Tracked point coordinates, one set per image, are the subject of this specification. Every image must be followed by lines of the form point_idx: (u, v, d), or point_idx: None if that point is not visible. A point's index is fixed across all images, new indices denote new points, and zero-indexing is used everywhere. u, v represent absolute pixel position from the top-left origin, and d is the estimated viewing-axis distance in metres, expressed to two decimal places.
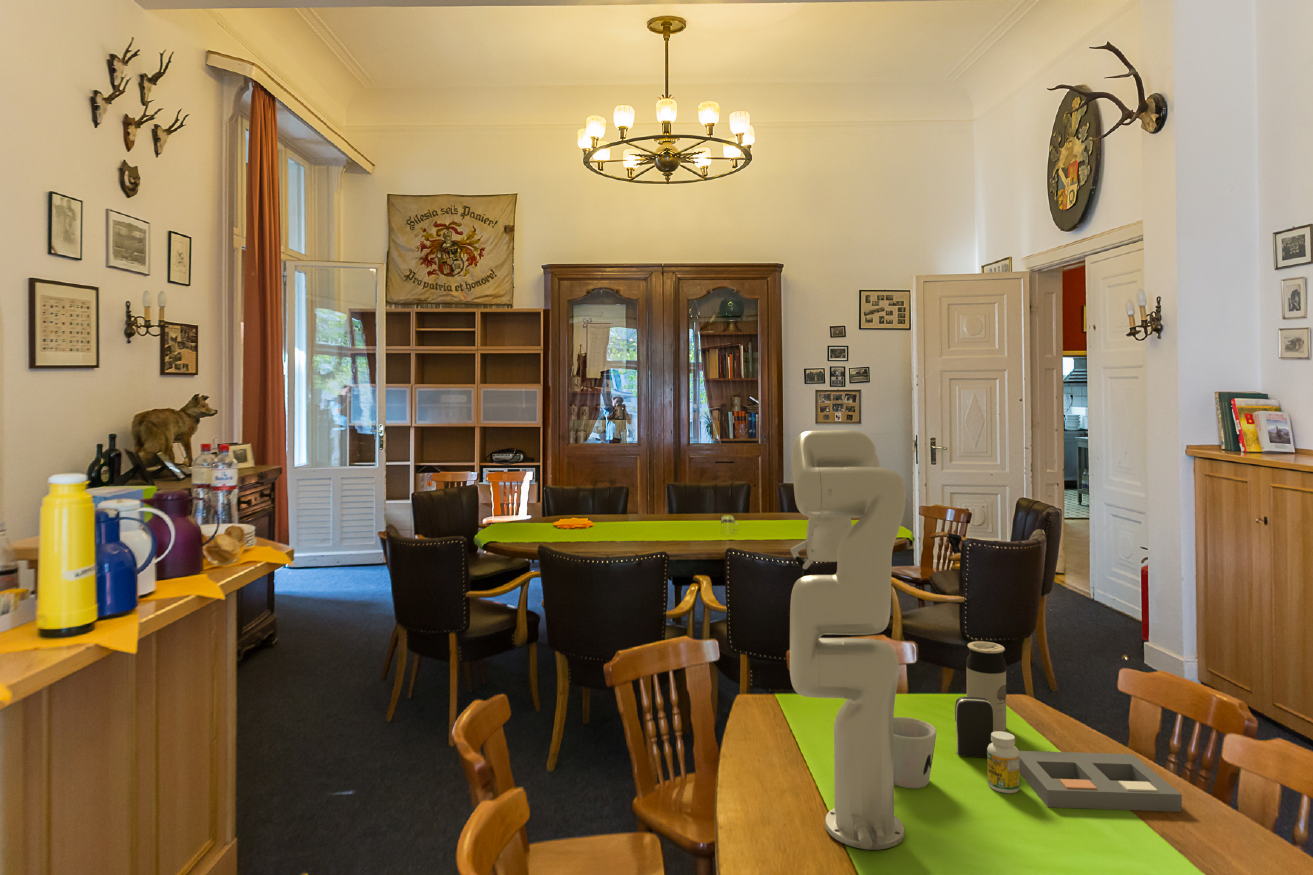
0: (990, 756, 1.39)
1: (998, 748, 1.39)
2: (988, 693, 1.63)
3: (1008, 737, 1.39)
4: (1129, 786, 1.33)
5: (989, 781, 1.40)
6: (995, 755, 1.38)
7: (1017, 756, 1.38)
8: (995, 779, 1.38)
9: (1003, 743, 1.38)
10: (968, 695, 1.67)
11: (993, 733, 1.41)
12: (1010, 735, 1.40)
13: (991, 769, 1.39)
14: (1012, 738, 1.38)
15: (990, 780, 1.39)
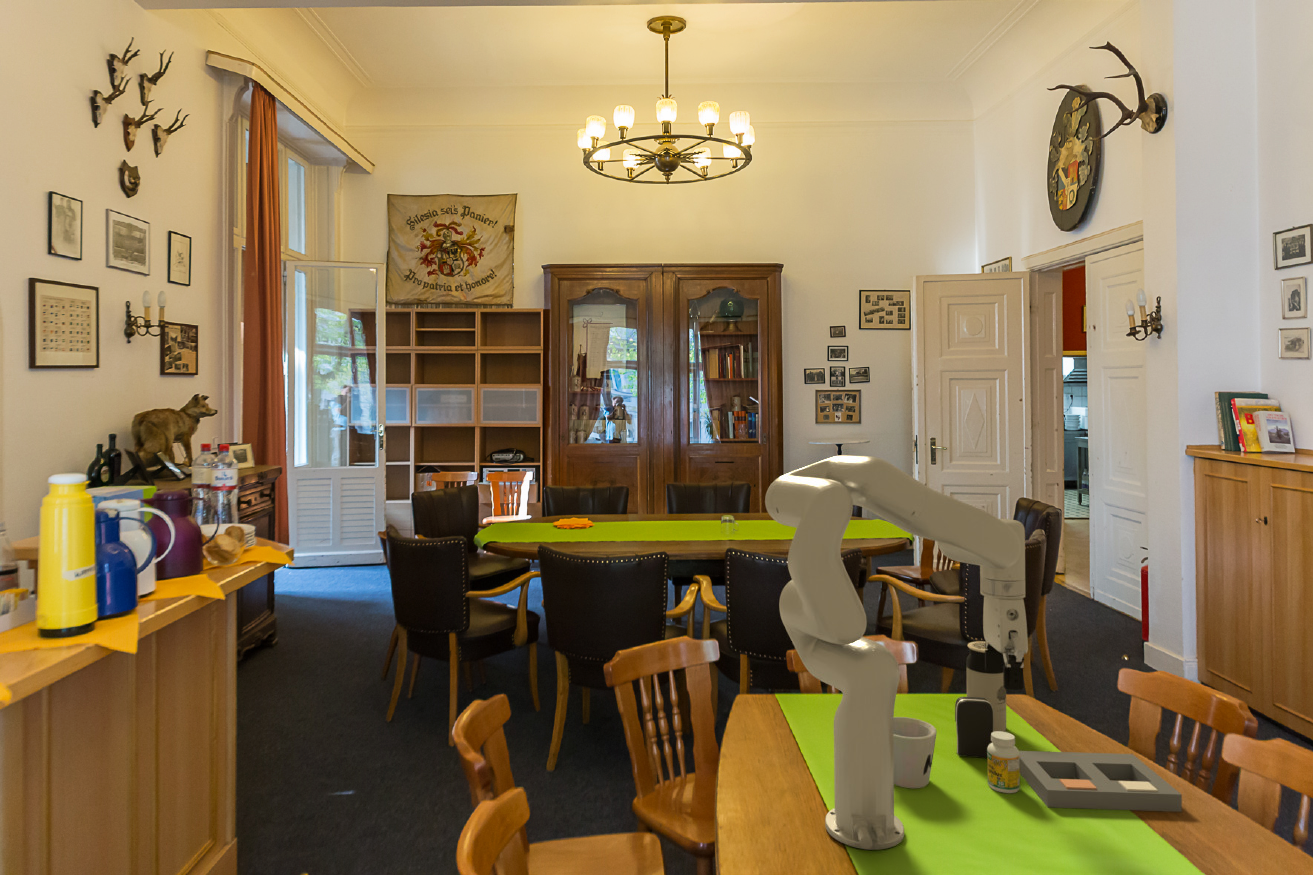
0: (990, 756, 1.39)
1: (998, 748, 1.39)
2: (988, 693, 1.63)
3: (1008, 737, 1.39)
4: (1129, 786, 1.33)
5: (989, 781, 1.40)
6: (995, 755, 1.38)
7: (1017, 756, 1.38)
8: (995, 779, 1.38)
9: (1003, 743, 1.38)
10: (968, 695, 1.67)
11: (993, 733, 1.41)
12: (1010, 735, 1.40)
13: (991, 769, 1.39)
14: (1012, 738, 1.38)
15: (990, 780, 1.39)
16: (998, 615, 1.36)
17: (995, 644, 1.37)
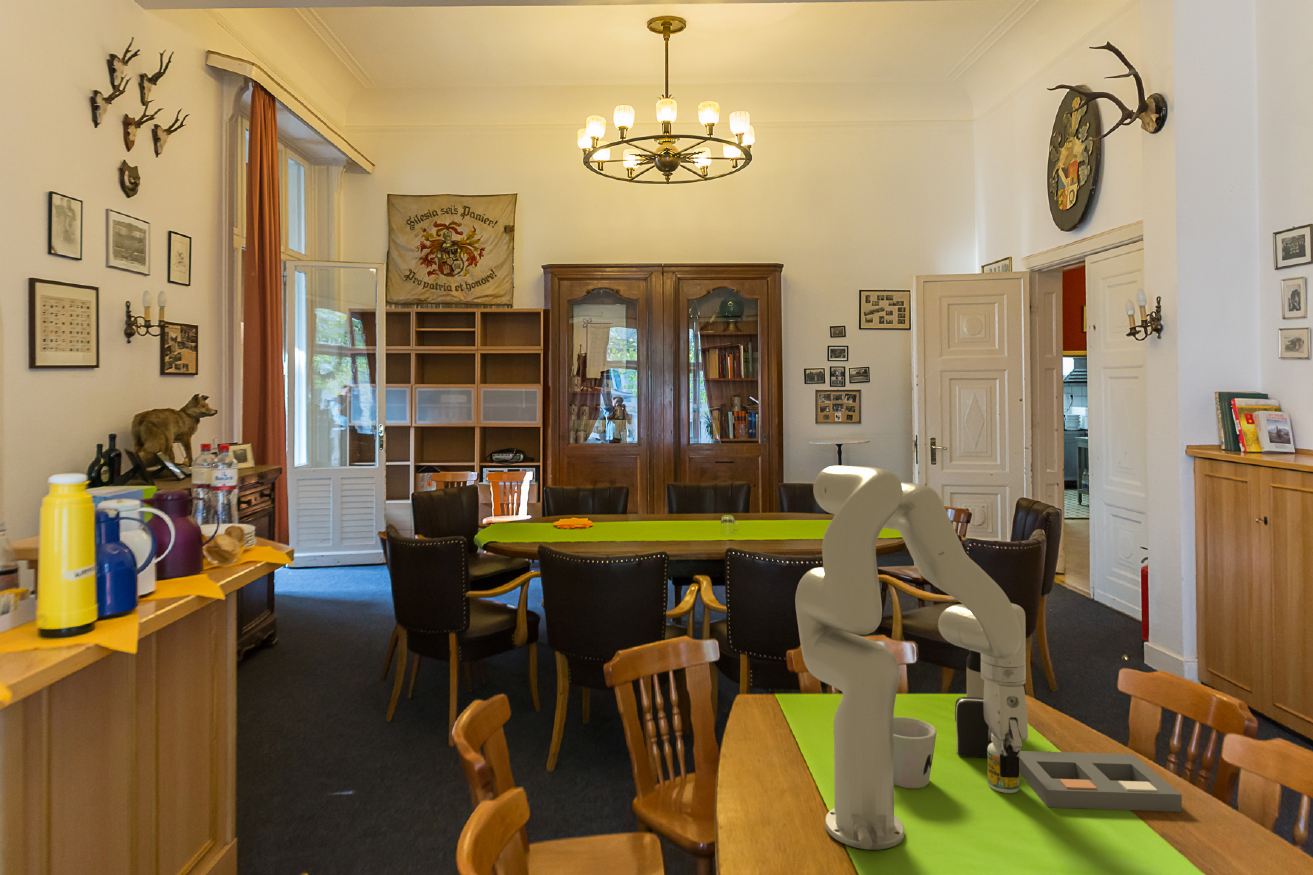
0: (990, 756, 1.39)
1: (998, 748, 1.39)
2: None
3: None
4: (1129, 786, 1.33)
5: (989, 781, 1.40)
6: (995, 755, 1.38)
7: None
8: (995, 779, 1.38)
9: None
10: (968, 695, 1.67)
11: (993, 733, 1.41)
12: None
13: (991, 769, 1.39)
14: None
15: (990, 780, 1.39)
16: (998, 702, 1.36)
17: (995, 730, 1.38)
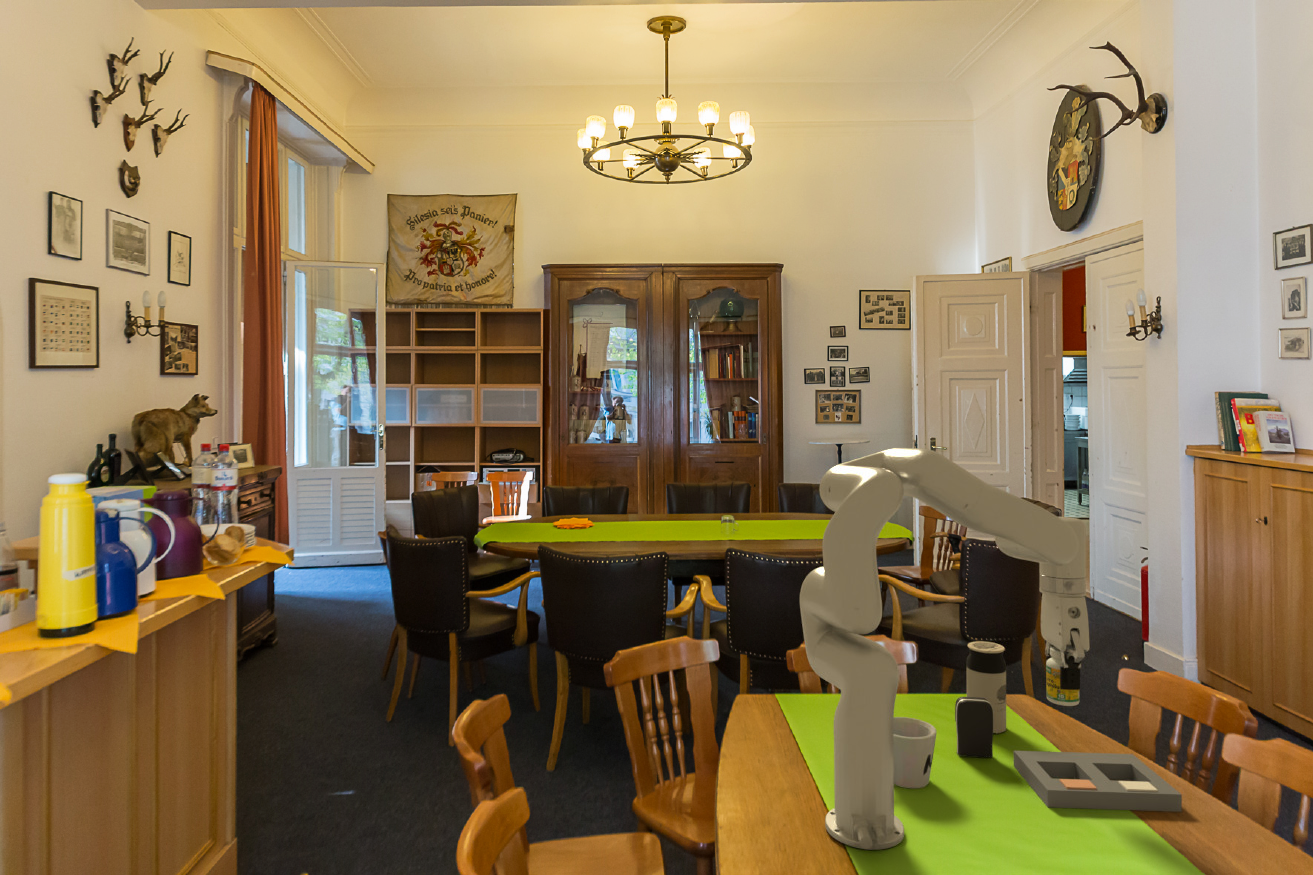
0: (1050, 670, 1.39)
1: (1058, 661, 1.38)
2: (988, 693, 1.63)
3: None
4: (1129, 786, 1.33)
5: (1048, 695, 1.39)
6: (1055, 668, 1.38)
7: None
8: (1055, 693, 1.38)
9: None
10: (968, 695, 1.67)
11: (1052, 647, 1.40)
12: (1070, 649, 1.39)
13: (1051, 682, 1.39)
14: None
15: (1049, 694, 1.39)
16: (1059, 613, 1.36)
17: (1055, 642, 1.37)
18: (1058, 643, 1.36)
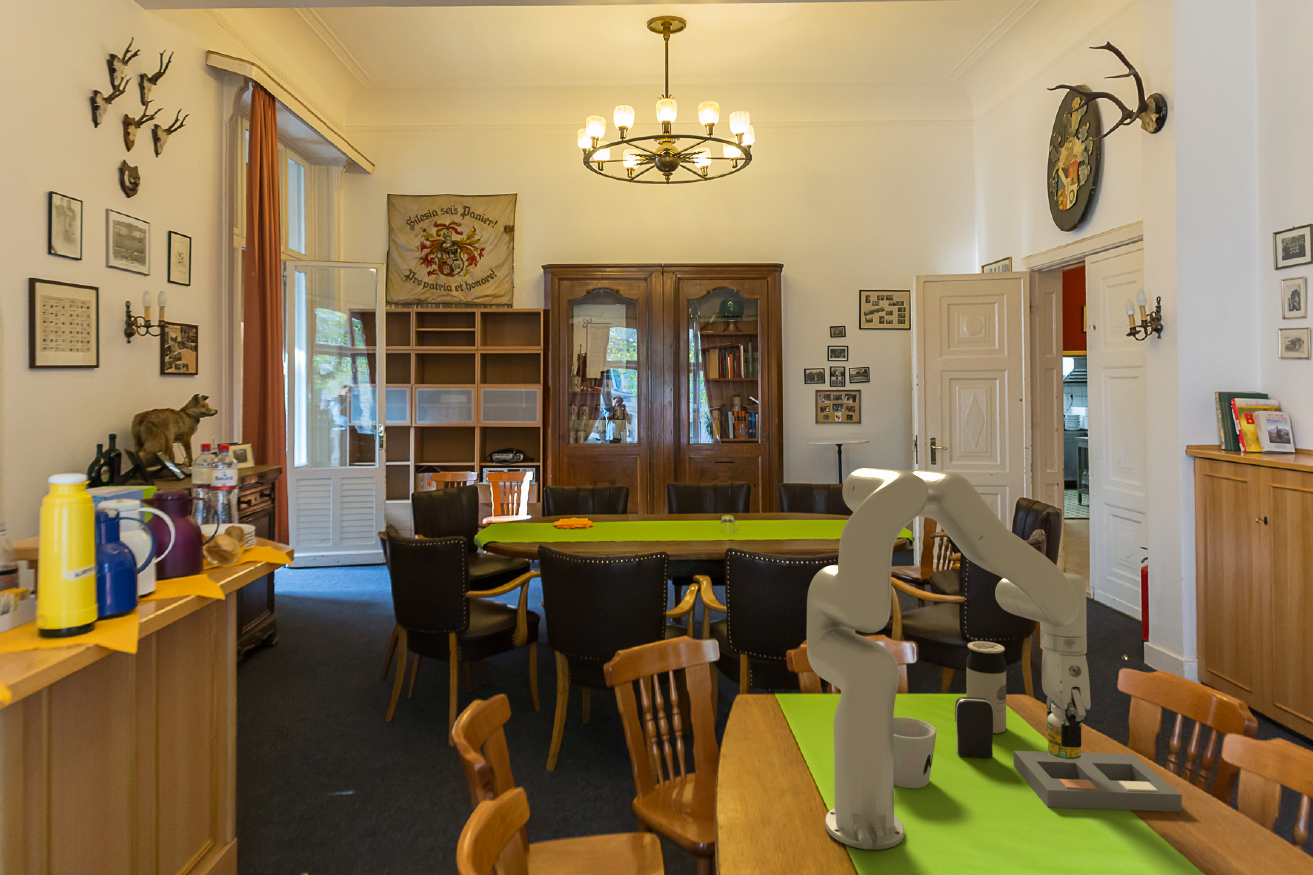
0: (1051, 726, 1.39)
1: (1059, 718, 1.38)
2: (988, 693, 1.63)
3: None
4: (1129, 786, 1.33)
5: (1050, 751, 1.40)
6: (1057, 725, 1.38)
7: None
8: (1056, 749, 1.38)
9: None
10: (968, 695, 1.67)
11: (1053, 703, 1.41)
12: (1071, 705, 1.40)
13: (1052, 739, 1.39)
14: None
15: (1051, 750, 1.39)
16: (1060, 671, 1.36)
17: (1056, 700, 1.37)
18: (1059, 701, 1.36)
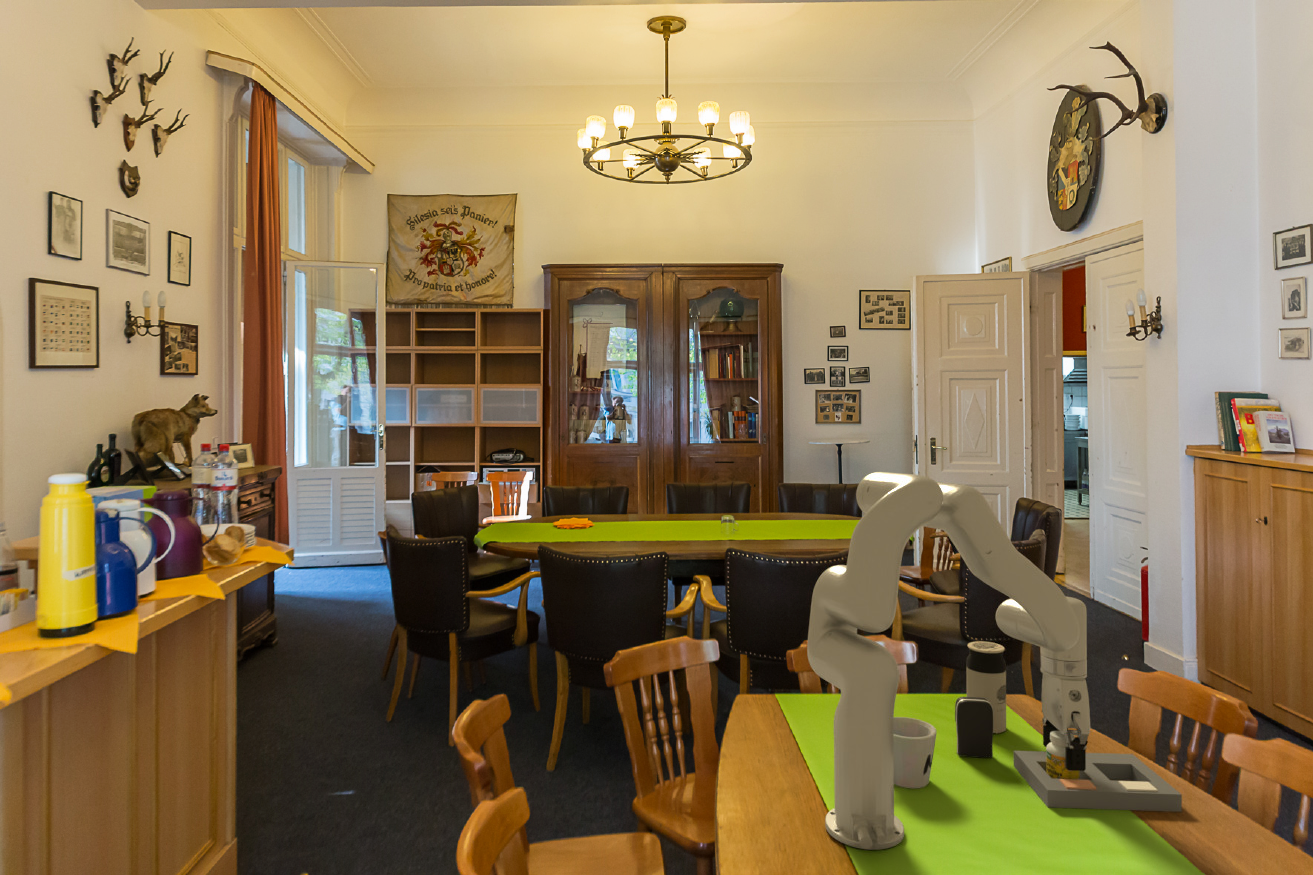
0: (1050, 756, 1.39)
1: (1058, 748, 1.39)
2: (988, 693, 1.63)
3: None
4: (1129, 786, 1.33)
5: None
6: (1055, 755, 1.38)
7: None
8: None
9: (1064, 743, 1.38)
10: (968, 695, 1.67)
11: (1052, 732, 1.41)
12: None
13: (1051, 768, 1.39)
14: (1072, 738, 1.38)
15: None
16: (1060, 696, 1.36)
17: (1056, 724, 1.37)
18: (1059, 725, 1.36)
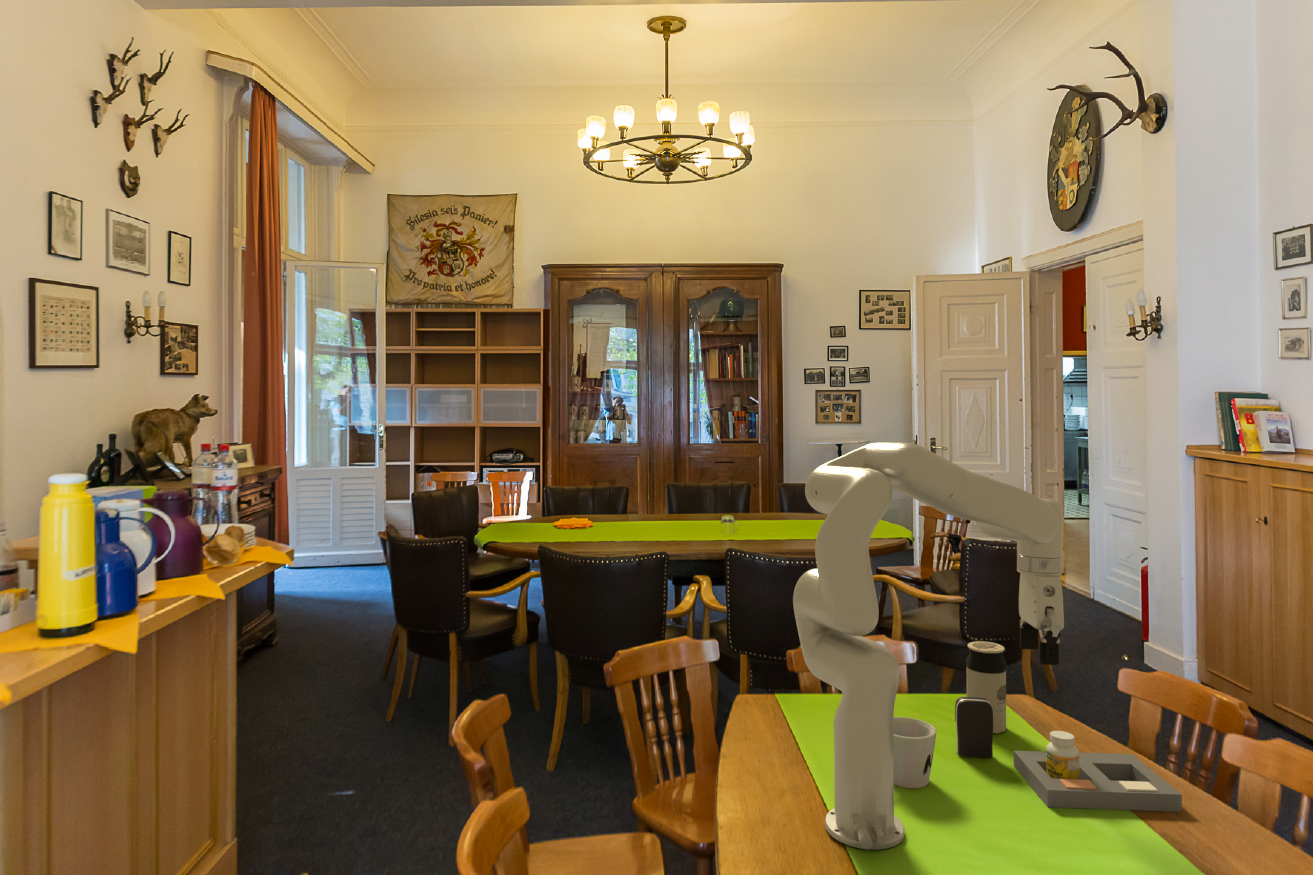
0: (1050, 756, 1.39)
1: (1058, 748, 1.39)
2: (988, 693, 1.63)
3: (1067, 737, 1.39)
4: (1129, 786, 1.33)
5: None
6: (1055, 755, 1.38)
7: (1077, 756, 1.38)
8: None
9: (1063, 743, 1.38)
10: (968, 695, 1.67)
11: (1052, 732, 1.41)
12: (1069, 734, 1.40)
13: (1051, 768, 1.39)
14: (1072, 737, 1.38)
15: None
16: (1034, 592, 1.38)
17: (1031, 621, 1.40)
18: (1033, 621, 1.39)
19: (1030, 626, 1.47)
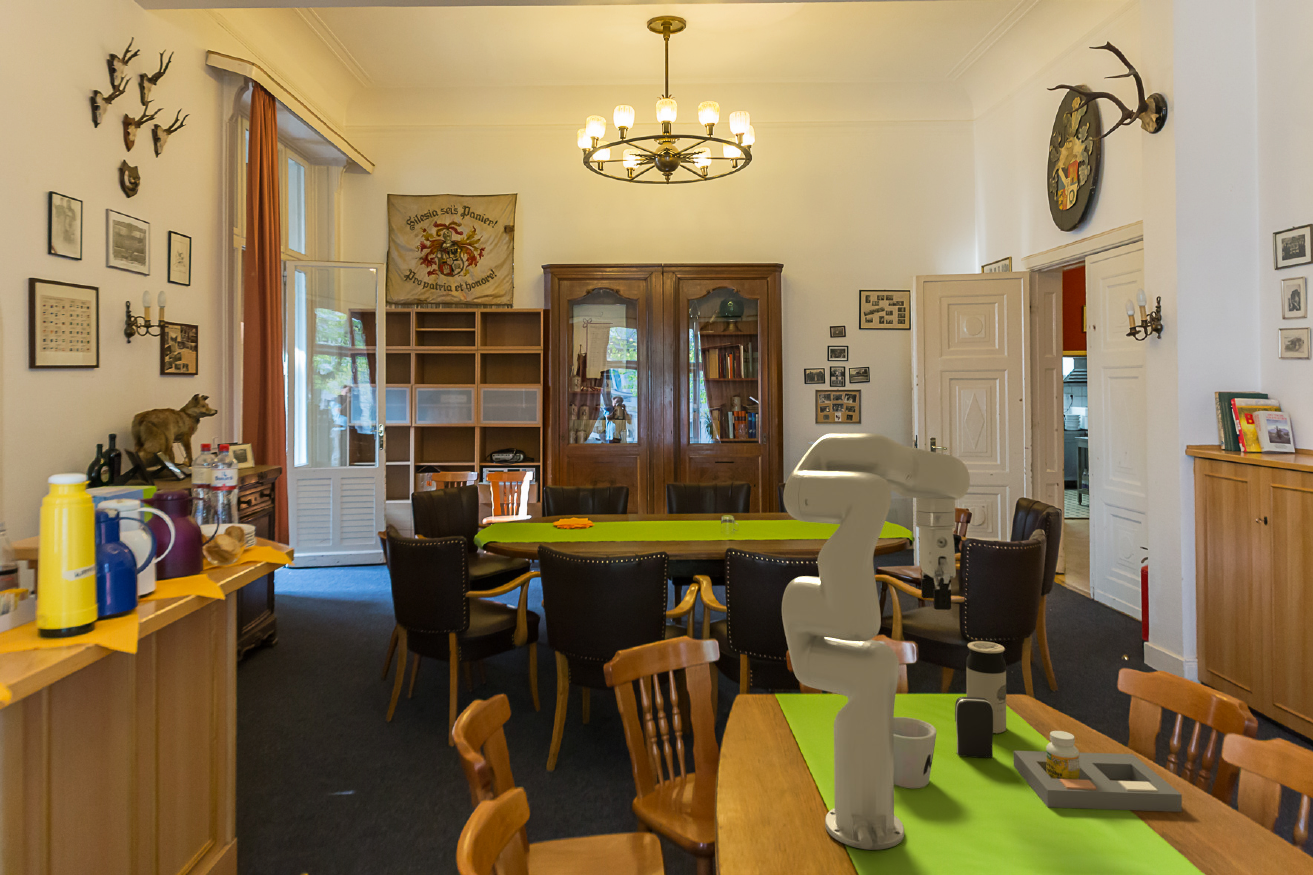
0: (1050, 756, 1.39)
1: (1058, 748, 1.39)
2: (988, 693, 1.63)
3: (1067, 737, 1.39)
4: (1129, 786, 1.33)
5: None
6: (1055, 755, 1.38)
7: (1077, 756, 1.38)
8: None
9: (1063, 743, 1.38)
10: (968, 695, 1.67)
11: (1052, 732, 1.41)
12: (1069, 734, 1.40)
13: (1051, 768, 1.39)
14: (1072, 737, 1.38)
15: None
16: (929, 544, 1.51)
17: (927, 571, 1.53)
18: (929, 571, 1.52)
19: (930, 577, 1.60)
